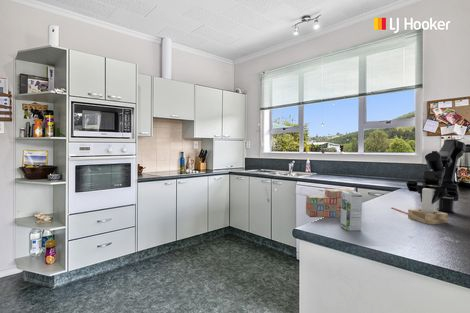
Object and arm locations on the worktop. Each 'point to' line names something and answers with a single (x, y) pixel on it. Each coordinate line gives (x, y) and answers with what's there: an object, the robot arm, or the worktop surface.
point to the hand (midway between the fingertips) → (426, 202)
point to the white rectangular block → (427, 200)
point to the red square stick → (400, 210)
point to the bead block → (427, 216)
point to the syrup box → (351, 210)
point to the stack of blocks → (325, 204)
